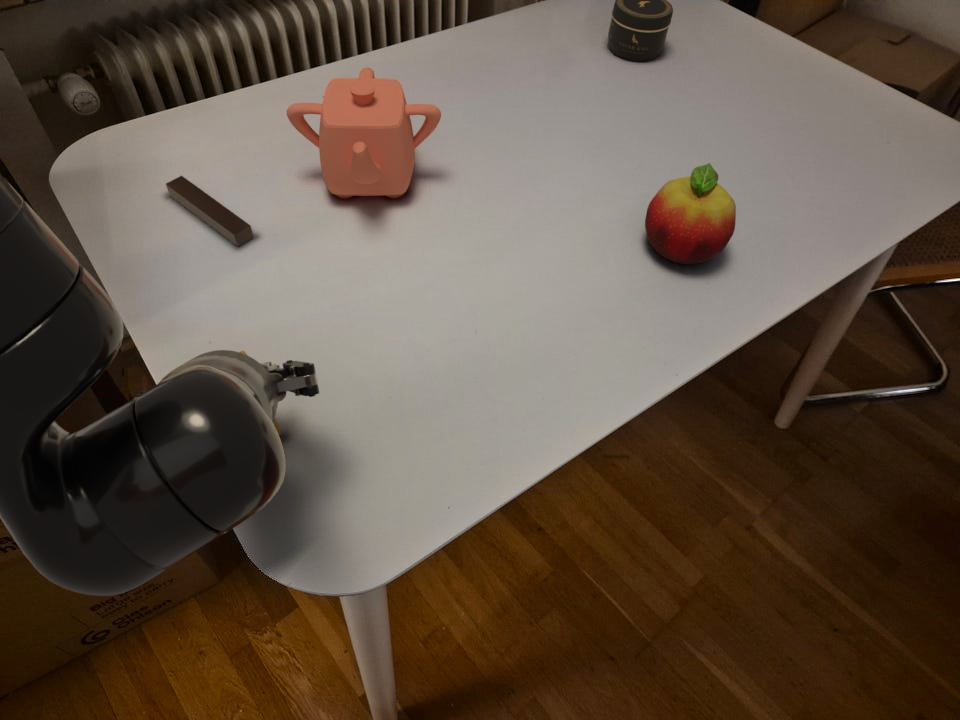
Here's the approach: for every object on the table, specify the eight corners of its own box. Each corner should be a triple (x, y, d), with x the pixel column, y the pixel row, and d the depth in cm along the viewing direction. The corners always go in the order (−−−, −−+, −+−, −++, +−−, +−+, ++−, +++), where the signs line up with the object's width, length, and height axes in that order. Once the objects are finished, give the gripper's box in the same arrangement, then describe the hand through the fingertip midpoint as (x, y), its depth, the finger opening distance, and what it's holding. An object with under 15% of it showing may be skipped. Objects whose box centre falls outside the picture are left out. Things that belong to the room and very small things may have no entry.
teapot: (369, 130, 98) (361, 41, 87) (452, 175, 92) (454, 86, 82) (281, 183, 89) (261, 92, 79) (367, 236, 84) (357, 145, 73)
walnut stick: (238, 247, 81) (234, 234, 80) (170, 196, 86) (165, 183, 85) (254, 237, 82) (250, 225, 81) (186, 187, 87) (181, 175, 86)
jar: (602, 58, 115) (611, 12, 109) (608, 31, 121) (617, -14, 115) (660, 67, 114) (673, 22, 108) (663, 40, 120) (675, -4, 114)
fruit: (627, 260, 84) (647, 195, 76) (649, 210, 90) (670, 146, 82) (711, 288, 81) (741, 225, 73) (728, 235, 88) (757, 172, 80)
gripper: (313, 338, 46) (314, 324, 62) (87, 375, 43) (152, 351, 59) (332, 443, 47) (328, 402, 63) (113, 487, 44) (170, 432, 60)
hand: (243, 378), depth 61 cm, fingers closed on supplement box, 4 cm apart
